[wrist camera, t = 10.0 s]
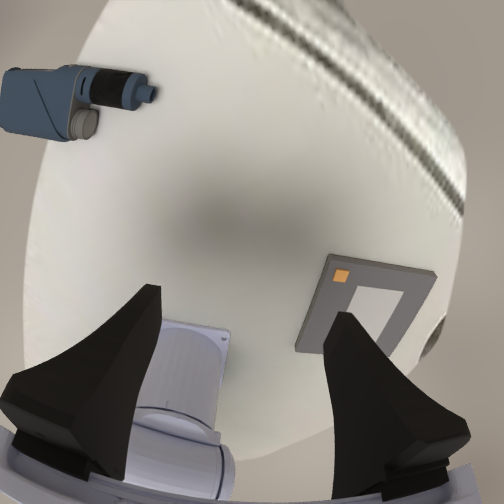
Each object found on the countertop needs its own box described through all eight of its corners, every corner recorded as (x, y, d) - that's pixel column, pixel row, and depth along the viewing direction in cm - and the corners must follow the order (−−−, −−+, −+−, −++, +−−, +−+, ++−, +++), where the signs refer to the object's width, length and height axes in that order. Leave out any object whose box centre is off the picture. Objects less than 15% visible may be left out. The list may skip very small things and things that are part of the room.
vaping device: (25, 62, 14) (164, 75, 16) (16, 127, 16) (145, 152, 18) (3, 64, 12) (151, 74, 13) (-5, 135, 14) (131, 163, 16)
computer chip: (387, 351, 28) (390, 358, 27) (294, 345, 27) (295, 353, 26) (433, 271, 22) (438, 278, 22) (329, 254, 22) (331, 261, 21)
